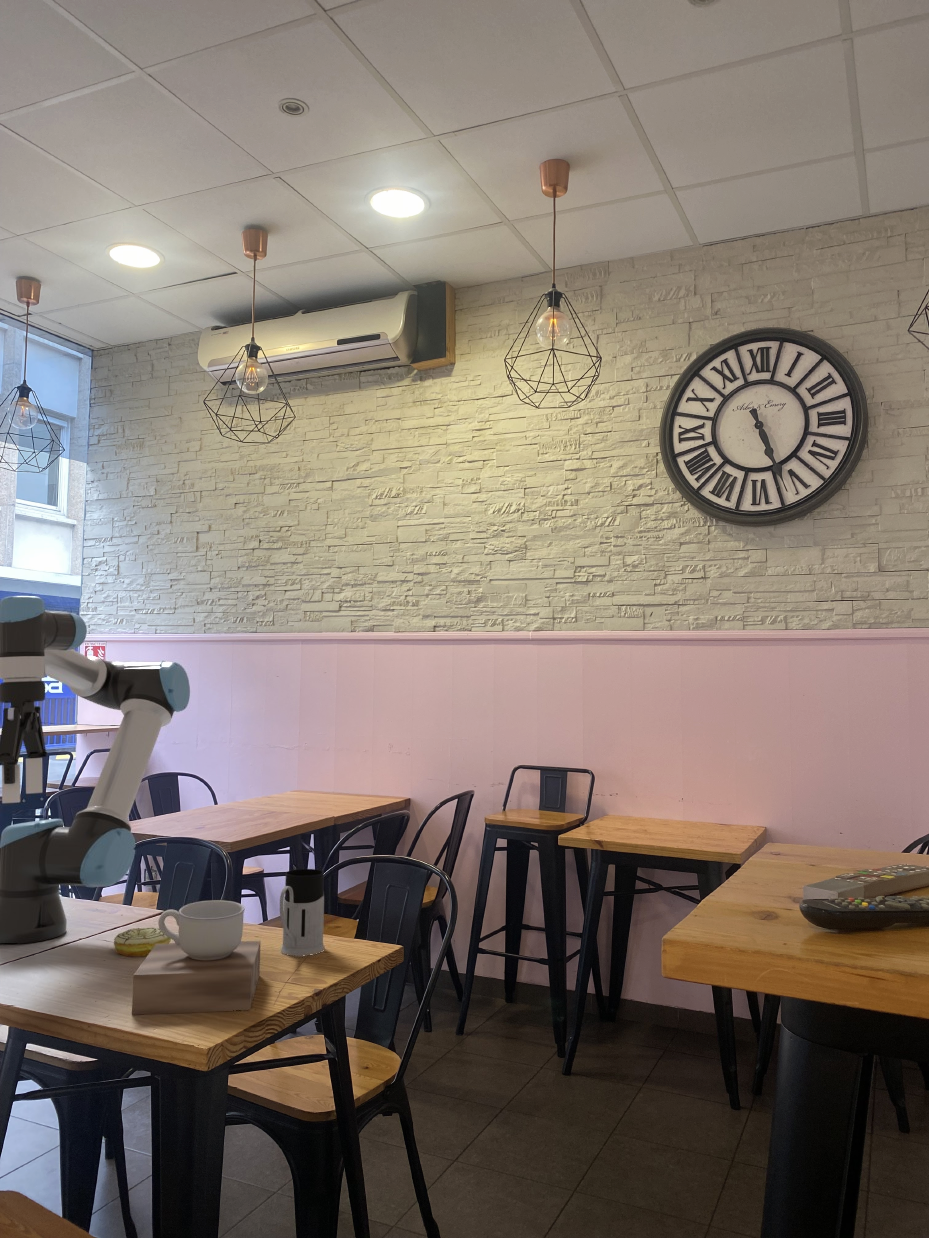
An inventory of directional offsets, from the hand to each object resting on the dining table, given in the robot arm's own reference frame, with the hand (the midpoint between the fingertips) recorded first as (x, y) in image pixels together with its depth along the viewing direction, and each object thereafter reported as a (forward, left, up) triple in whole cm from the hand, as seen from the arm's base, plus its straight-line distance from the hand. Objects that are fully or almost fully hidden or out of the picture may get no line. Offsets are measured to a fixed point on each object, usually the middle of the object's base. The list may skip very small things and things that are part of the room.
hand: (23, 797), depth 160 cm
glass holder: (-7, +49, -31) cm, 59 cm away
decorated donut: (-13, +19, -31) cm, 39 cm away
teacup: (+14, +34, -25) cm, 45 cm away
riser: (+15, +34, -31) cm, 49 cm away
